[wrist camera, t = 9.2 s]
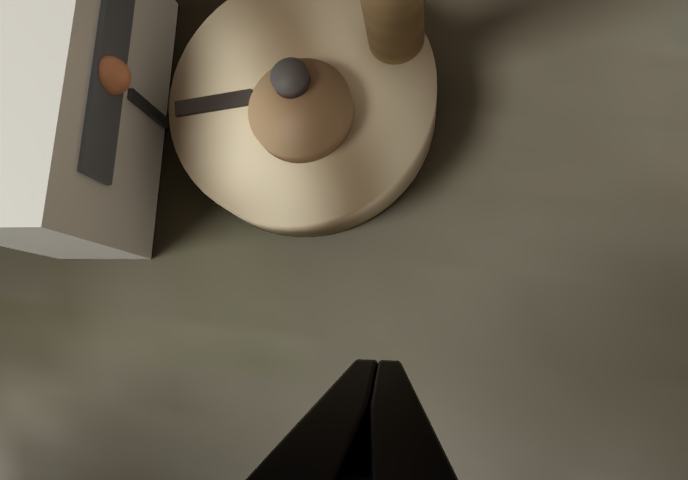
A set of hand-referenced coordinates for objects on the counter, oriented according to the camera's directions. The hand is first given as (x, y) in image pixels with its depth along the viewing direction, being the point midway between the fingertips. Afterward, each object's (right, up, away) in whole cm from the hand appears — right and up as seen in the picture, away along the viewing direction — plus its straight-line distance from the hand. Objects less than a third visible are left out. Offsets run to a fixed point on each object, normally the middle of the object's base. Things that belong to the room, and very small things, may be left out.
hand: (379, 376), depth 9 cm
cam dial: (-2, +9, +14) cm, 17 cm away
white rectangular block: (-12, +9, +16) cm, 22 cm away
